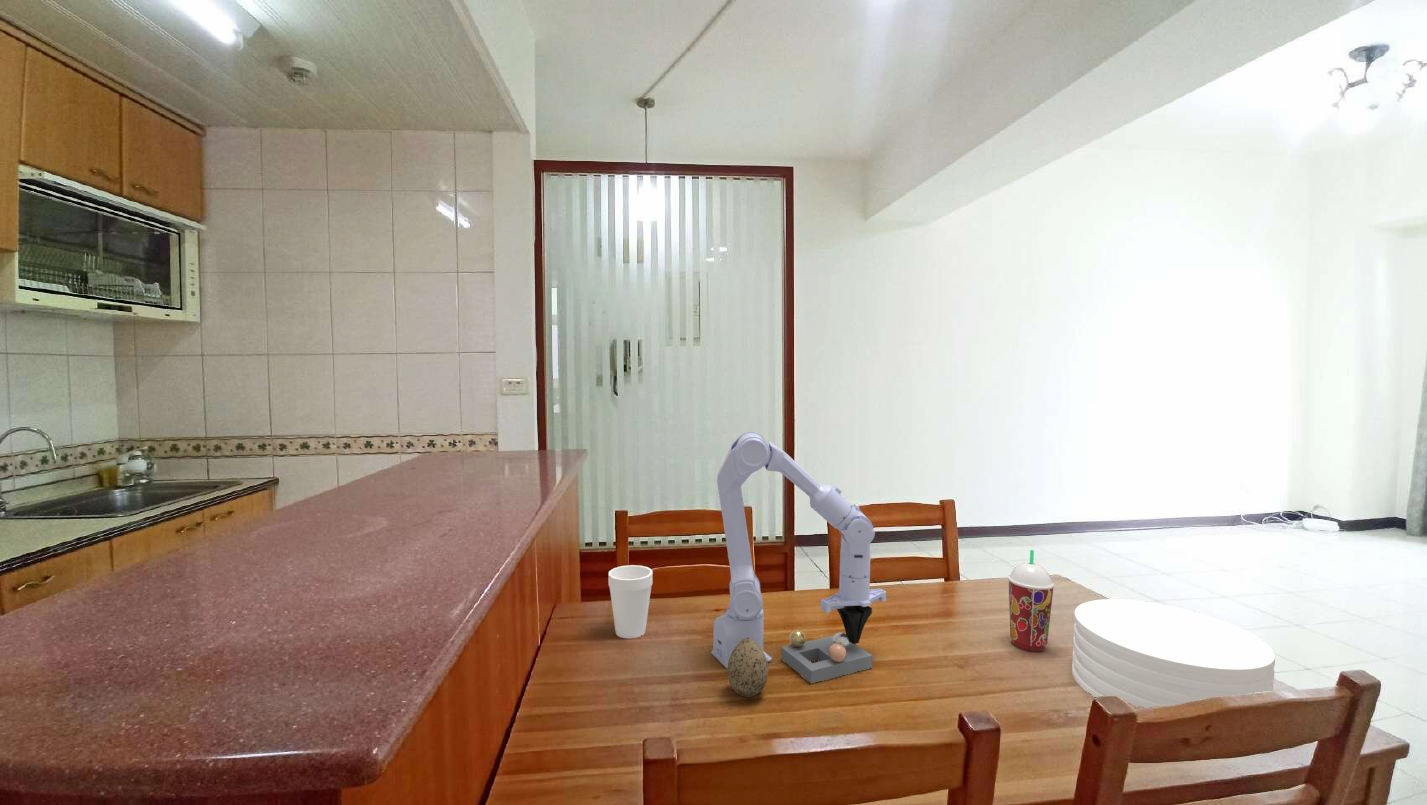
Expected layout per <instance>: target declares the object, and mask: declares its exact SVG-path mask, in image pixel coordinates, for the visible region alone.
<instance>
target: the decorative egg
mask: <svg viewBox="0 0 1427 805" xmlns="http://www.w3.org/2000/svg"><path fill="white" fill-rule="evenodd" d="M763 651H764V649H763V650H762V649H761V647H760V646H759V645H758V644H757V643H756V642H755V641H754V640H753V639H751V638H744V639H743V640H741V641H740V642H739V643H738V644H737V645H736V647H735V648H734V649H733V651H732V653H731V655H730V658H729V661H728V666H727V668H726V672H727V679H728V681H729V684H730V686H731V688H732V689H733V691H734V692H736V693H737V694H738V695H740V696H742V697H745V698H746V697H747V698H749V697H753V696H756V695H758V694H759V693H760V692H762V690H763V689H764V688H765V686H766V684H767V681H768V678H769V665H768V662H767V659H766V656H765V654H764V652H765V651H764V652H763Z"/></svg>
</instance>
